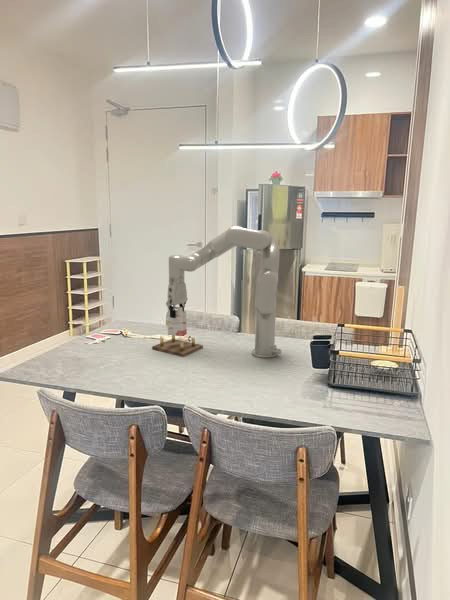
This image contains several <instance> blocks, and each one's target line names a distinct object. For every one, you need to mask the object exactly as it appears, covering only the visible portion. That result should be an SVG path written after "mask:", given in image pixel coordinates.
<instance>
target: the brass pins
mask: <svg viewBox="0 0 450 600" xmlns="http://www.w3.org/2000/svg"><path fill="white" fill-rule="evenodd" d="M171 339H172V342H175V339H176V336H175V335H171ZM159 341H160V342H159V344H160V346H164V342H165V341H164V337H160V338H159ZM191 343H192V346H195V344H196V338H195V337H191ZM180 351H184V343H183V342H181V343H180Z"/></svg>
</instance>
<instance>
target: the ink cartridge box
mask: <svg viewBox="0 0 450 600" xmlns="http://www.w3.org/2000/svg"><path fill="white" fill-rule="evenodd" d="M175 310H176V318H171V317H170V310H169V308H168V307H167V314H166V316H167V335H168V336H172V335H175V337H185V336H186V335H187V334H188V333H187V332H188V331H187V330H188V329H187V327H188V326H187V325H188V323H187V311H185V310H184V311H183V308H182V307H180V306H175Z"/></svg>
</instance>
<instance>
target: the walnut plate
mask: <svg viewBox="0 0 450 600" xmlns="http://www.w3.org/2000/svg"><path fill="white" fill-rule="evenodd" d="M181 342H183V343H184V351H180V343H181ZM151 349H152V350H154V351H158V352H162V353H165V354H169V355H170V354H171V355H174V356H177V357H182V358H184V357H186V356H188V355H191V354H192V353H196V352H198V351H200V350H202V349H204V345H203V344H199V343H195V346H192V342H189V341H185V340H180V339H176V338H175V342H172V338H171V339H169V340H165V341H164V346H160V343H158V344H155V345H152V347H151Z"/></svg>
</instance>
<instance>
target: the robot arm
mask: <svg viewBox="0 0 450 600" xmlns="http://www.w3.org/2000/svg"><path fill="white" fill-rule="evenodd" d="M236 246H237V247H240V248H246V249H251V250H255V251H261V255H260V256H261V258H260V268H259V273H258V275H257V277H256V283H255V284H256V286H255V293H254V308H255V323H254V324H255V327H254V330H255V331H254V332H255V334H254V335H255V336H254V348H253V349H252V350H251V355H252V356H254V357H257V358H263V359H267V358H268V359H269V358H274V357H276V356H278V355H282V349H281V348H277V344H275V343H276V342H275V341H276V316H277V315H276V313H277V294H278V293H277V292H278V284H279V270H280V269H279V268H280V254H281V253H280V246H279V243H278V241H277V239H276V237H275V236H274V235H272V233H270V232H269V231H267V230H264V229H259V230H255V229H250V228H245V227H242V226H241V225H232V226H230V227H228V228H227V230H224V232H222V233H221V234H218V235H217V236H216V237H214V238H212V239H211V240H210V241H208V243H207V244H206V245H204V246H203V247H202V248H200V249H198V250H196V251H195V252H194V253H192V254H190V255H188V256H183V255H180V254H173V255H170V256H169V257H168V287H167V301H166V303H165V305H166V307H167V309H168V308H169V310H170V317H171V318H176V310H177V309H175V307H177V305H178V307H182V308H183V311H185V307H186V303H187V301H188V295H187V294H188V292H187V284H186V282H185V272H195V271H197V270H198V269H199V268H201V267H202V266H204V265H206V264H207V263H210V262H211V261H213V260H214V259H216V258H219V257H220V256H222V255H224V254H225V253H227V252H228V251H231V250H232V249H233V248H235V247H236Z"/></svg>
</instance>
